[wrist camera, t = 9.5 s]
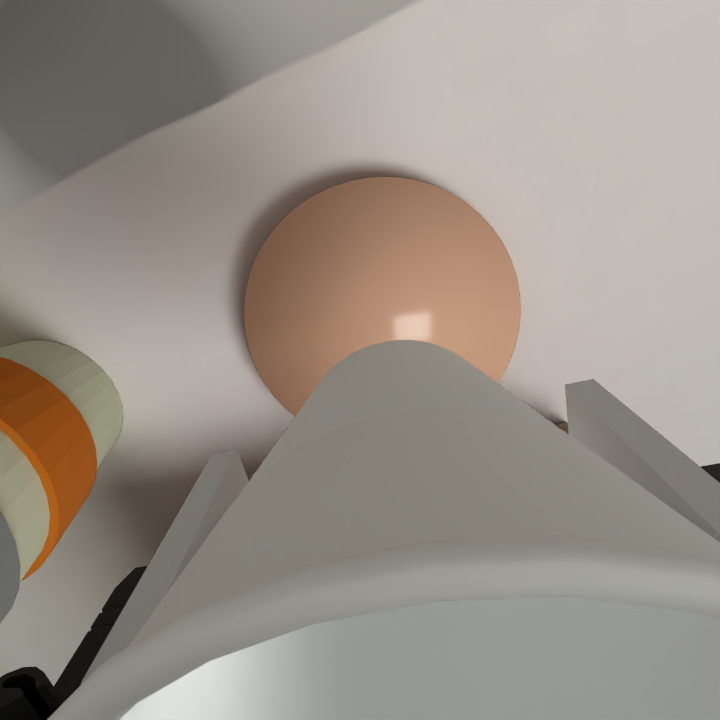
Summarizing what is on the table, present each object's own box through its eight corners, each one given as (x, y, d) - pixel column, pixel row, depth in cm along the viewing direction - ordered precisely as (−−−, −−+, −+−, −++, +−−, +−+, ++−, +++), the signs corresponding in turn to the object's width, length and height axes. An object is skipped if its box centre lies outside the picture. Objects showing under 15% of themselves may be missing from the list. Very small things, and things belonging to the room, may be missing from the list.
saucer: (289, 455, 31) (287, 465, 30) (212, 214, 25) (205, 215, 24) (526, 409, 30) (532, 418, 28) (497, 145, 24) (504, 143, 23)
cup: (197, 339, 14) (-261, 749, 4) (511, 224, 13) (1129, 363, 2) (317, 572, 17) (250, 1137, 7) (578, 498, 16) (966, 1055, 6)
